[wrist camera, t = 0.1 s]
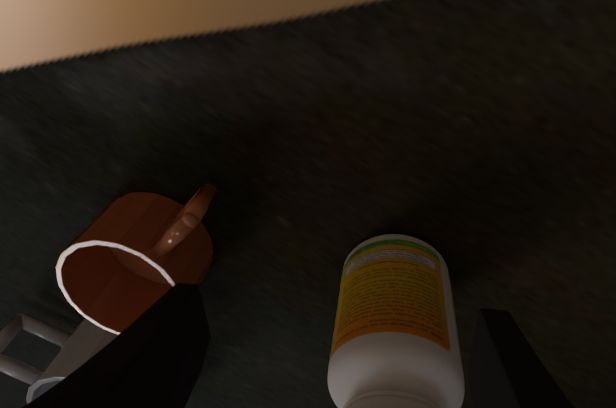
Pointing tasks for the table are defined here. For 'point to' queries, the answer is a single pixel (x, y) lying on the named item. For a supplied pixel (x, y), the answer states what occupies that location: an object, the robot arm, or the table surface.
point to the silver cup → (64, 361)
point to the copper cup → (135, 256)
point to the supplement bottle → (395, 329)
